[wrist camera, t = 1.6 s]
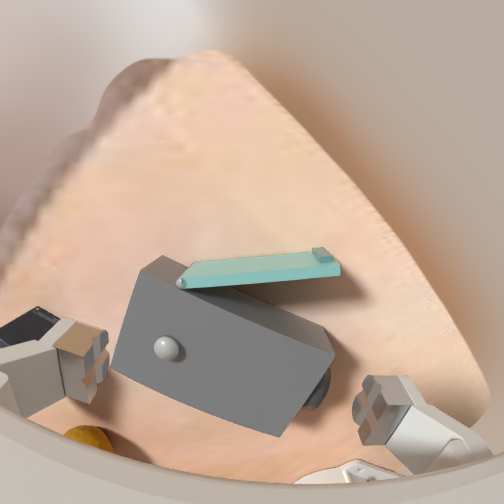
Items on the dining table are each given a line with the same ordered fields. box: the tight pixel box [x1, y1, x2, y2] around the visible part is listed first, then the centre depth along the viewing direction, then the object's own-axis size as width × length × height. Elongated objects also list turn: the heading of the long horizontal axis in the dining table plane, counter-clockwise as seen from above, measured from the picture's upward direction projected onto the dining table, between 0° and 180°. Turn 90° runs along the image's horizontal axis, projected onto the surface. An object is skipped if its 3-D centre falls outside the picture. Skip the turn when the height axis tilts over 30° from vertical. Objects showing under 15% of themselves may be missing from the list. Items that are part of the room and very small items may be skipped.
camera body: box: [110, 255, 336, 437], centre depth 32 cm, size 22×12×8 cm, turn 65°
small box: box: [0, 306, 60, 349], centre depth 32 cm, size 11×6×10 cm, turn 160°
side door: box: [176, 247, 340, 289], centre depth 31 cm, size 14×2×7 cm, turn 95°
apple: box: [64, 425, 115, 454], centre depth 36 cm, size 9×9×9 cm
